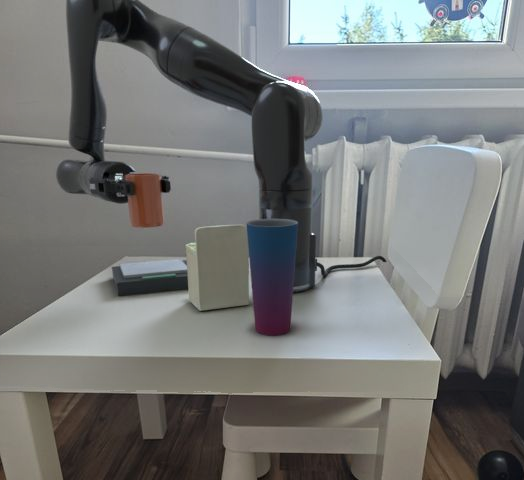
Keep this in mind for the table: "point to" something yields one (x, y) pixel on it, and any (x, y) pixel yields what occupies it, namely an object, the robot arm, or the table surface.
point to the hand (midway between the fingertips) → (150, 187)
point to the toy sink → (218, 267)
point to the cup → (272, 272)
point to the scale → (150, 276)
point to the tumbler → (146, 200)
